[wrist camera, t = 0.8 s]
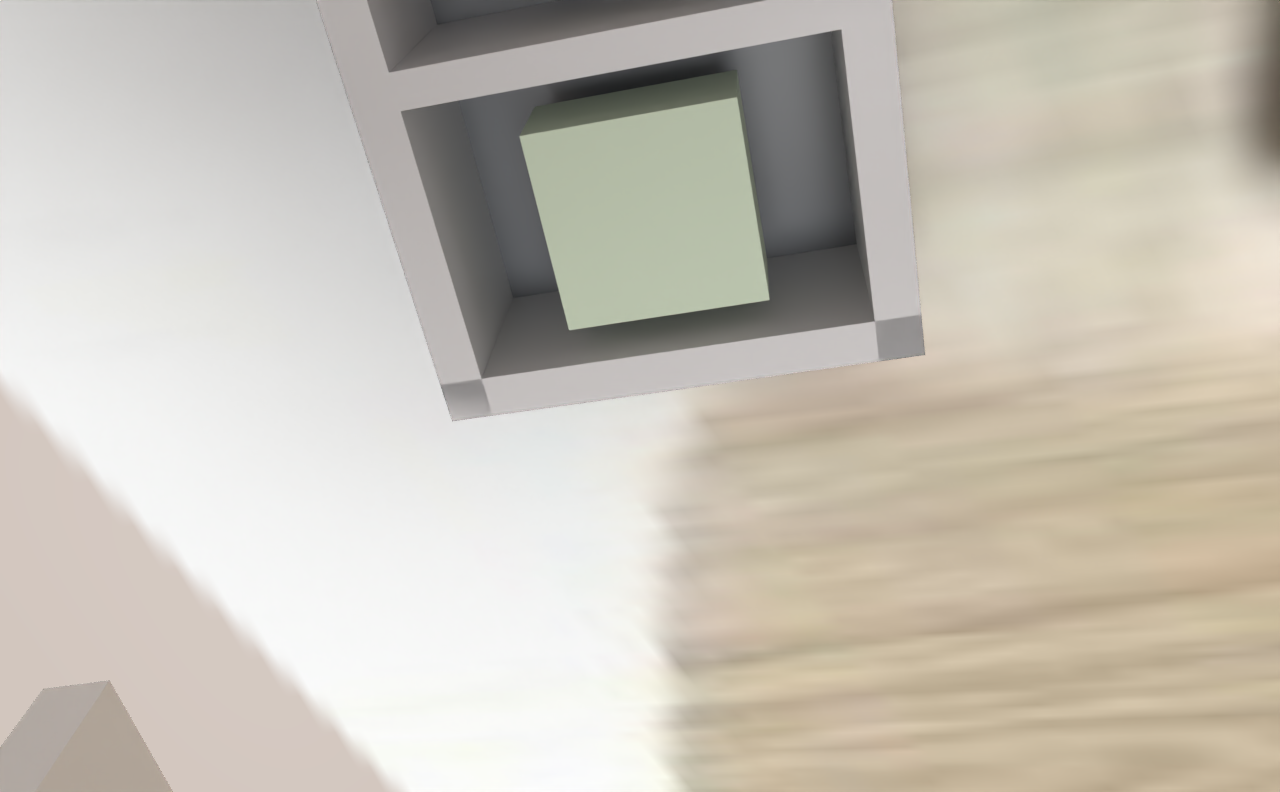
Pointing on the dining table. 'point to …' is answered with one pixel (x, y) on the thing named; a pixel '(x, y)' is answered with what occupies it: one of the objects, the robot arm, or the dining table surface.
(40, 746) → the robot arm
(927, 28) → the dining table surface
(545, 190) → the key sage
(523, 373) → the grey compartment tray
